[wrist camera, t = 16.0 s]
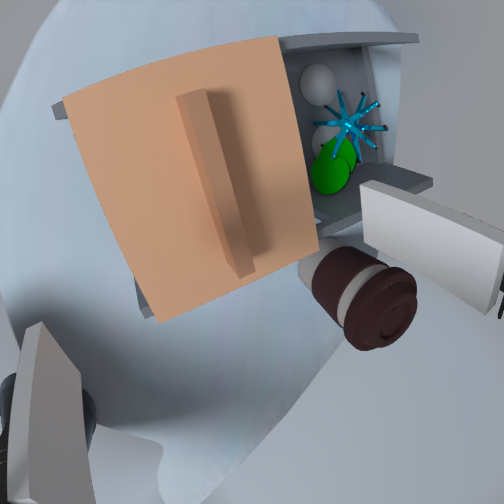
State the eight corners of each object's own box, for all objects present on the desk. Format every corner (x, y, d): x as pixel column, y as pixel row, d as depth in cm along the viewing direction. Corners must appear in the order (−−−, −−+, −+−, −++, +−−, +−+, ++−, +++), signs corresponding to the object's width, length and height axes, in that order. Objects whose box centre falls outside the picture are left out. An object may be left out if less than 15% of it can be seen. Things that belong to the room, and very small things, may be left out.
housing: (133, 261, 33) (145, 318, 24) (72, 108, 24) (51, 105, 15) (371, 165, 40) (432, 186, 31) (351, 40, 31) (417, 33, 23)
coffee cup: (340, 288, 47) (409, 346, 35) (282, 298, 43) (349, 370, 31) (354, 225, 43) (437, 274, 31) (293, 228, 39) (378, 287, 27)
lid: (156, 316, 24) (165, 344, 21) (64, 98, 15) (54, 96, 12) (312, 245, 27) (337, 263, 24) (270, 38, 18) (296, 29, 16)
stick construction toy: (325, 78, 30) (390, 96, 26) (351, 99, 35) (408, 118, 31) (287, 178, 34) (347, 208, 30) (318, 185, 40) (371, 212, 35)
